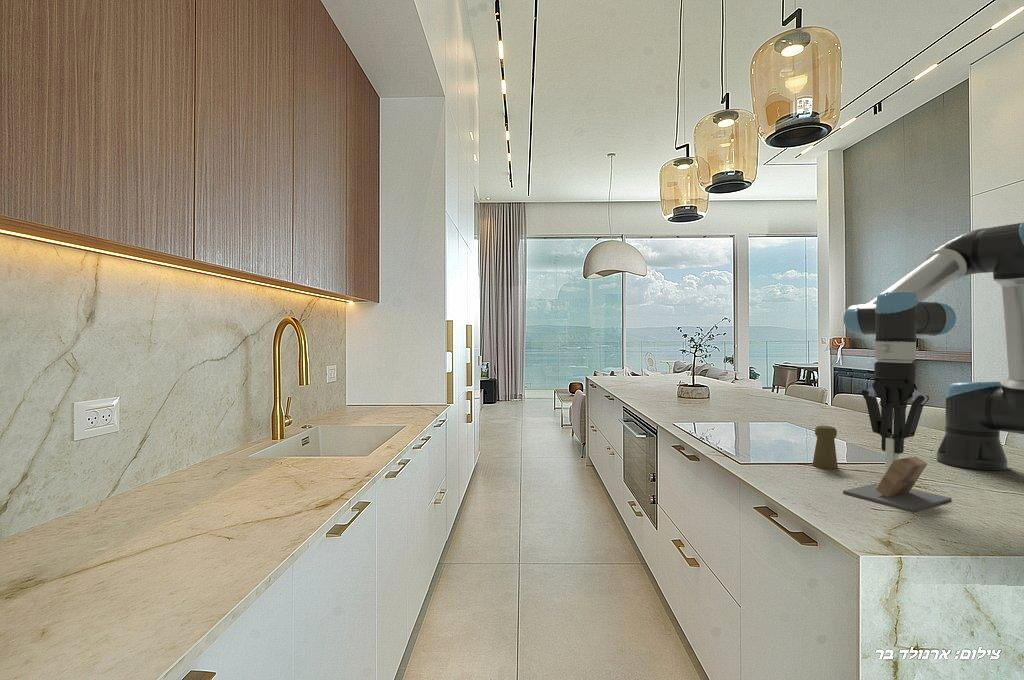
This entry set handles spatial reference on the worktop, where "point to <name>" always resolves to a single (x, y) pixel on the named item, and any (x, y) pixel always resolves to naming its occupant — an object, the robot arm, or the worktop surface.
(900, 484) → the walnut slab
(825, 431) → the cork
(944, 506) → the worktop surface
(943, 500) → the mat
